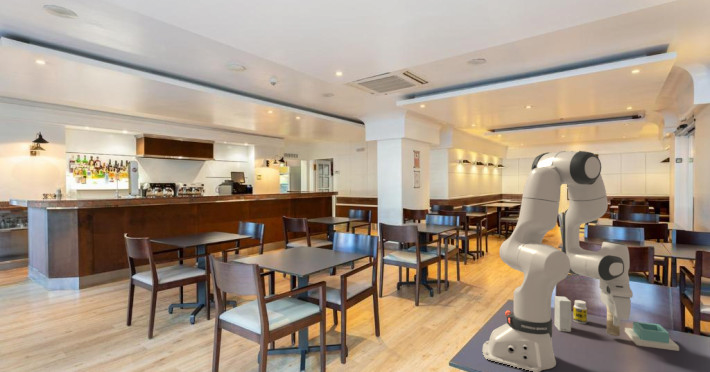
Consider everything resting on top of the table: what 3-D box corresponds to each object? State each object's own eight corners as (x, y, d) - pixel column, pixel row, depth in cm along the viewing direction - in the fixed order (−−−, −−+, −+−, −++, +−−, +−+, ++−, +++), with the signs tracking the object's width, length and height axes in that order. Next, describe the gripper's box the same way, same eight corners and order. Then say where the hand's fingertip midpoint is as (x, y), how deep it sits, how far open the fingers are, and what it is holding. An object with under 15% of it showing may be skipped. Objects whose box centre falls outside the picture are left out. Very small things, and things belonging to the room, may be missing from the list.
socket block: (636, 345, 127) (636, 331, 127) (624, 331, 138) (625, 318, 138) (679, 350, 122) (679, 336, 122) (663, 336, 134) (663, 323, 133)
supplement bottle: (574, 323, 146) (574, 302, 146) (572, 318, 151) (572, 299, 150) (588, 324, 145) (588, 304, 144) (585, 320, 149) (585, 300, 149)
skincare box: (571, 332, 138) (571, 301, 137) (559, 331, 139) (559, 300, 138) (565, 325, 144) (565, 296, 143) (554, 325, 144) (554, 295, 144)
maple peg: (608, 334, 130) (608, 307, 130) (605, 330, 134) (605, 304, 134) (621, 336, 129) (622, 309, 129) (617, 332, 133) (618, 305, 132)
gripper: (596, 277, 142) (595, 311, 142) (612, 292, 123) (611, 332, 123) (614, 278, 140) (614, 313, 140) (634, 294, 121) (634, 334, 121)
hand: (613, 322), depth 131 cm, fingers closed on maple peg, 4 cm apart
